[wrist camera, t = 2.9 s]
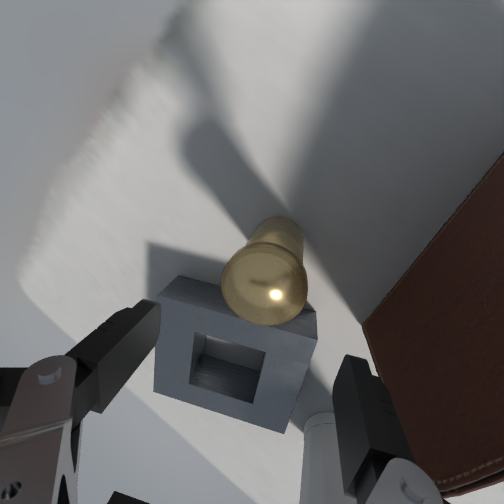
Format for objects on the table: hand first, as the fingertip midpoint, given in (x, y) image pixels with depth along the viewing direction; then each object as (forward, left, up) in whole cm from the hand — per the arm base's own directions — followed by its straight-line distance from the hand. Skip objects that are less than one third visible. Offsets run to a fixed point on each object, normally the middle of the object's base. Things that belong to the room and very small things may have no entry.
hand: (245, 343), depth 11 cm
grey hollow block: (+12, -2, -13) cm, 18 cm away
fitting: (0, 0, -13) cm, 13 cm away
